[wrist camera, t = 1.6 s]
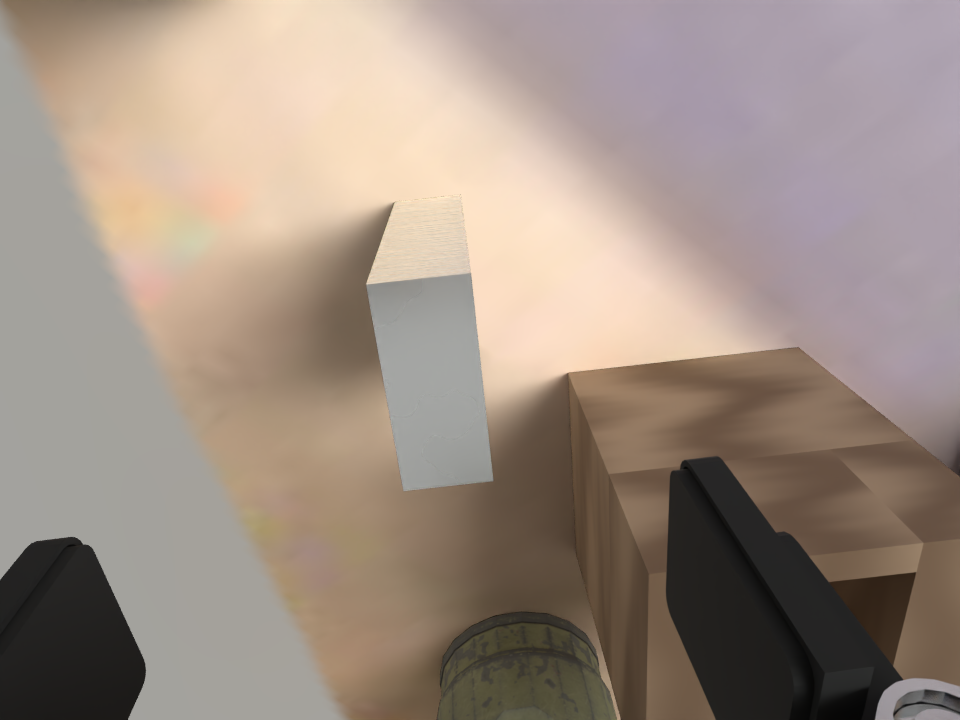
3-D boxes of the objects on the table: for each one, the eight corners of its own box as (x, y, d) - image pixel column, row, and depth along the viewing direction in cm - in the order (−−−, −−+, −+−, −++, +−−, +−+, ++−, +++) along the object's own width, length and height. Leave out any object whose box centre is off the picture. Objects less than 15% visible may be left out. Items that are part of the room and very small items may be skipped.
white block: (460, 194, 24) (470, 273, 15) (476, 339, 27) (493, 481, 18) (394, 201, 24) (365, 284, 15) (417, 346, 27) (403, 491, 18)
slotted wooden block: (798, 347, 28) (1027, 531, 17) (776, 530, 32) (947, 771, 21) (568, 373, 28) (648, 574, 17) (576, 553, 32) (645, 806, 21)
